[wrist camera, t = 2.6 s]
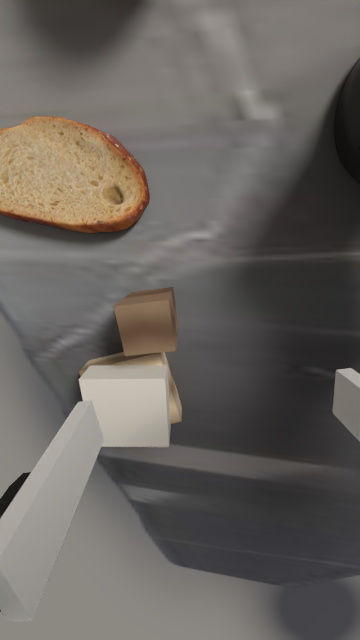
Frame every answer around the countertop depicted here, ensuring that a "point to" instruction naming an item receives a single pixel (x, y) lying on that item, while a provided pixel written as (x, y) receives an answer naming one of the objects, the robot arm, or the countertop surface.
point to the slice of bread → (69, 177)
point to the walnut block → (148, 322)
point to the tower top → (129, 403)
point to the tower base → (144, 360)
